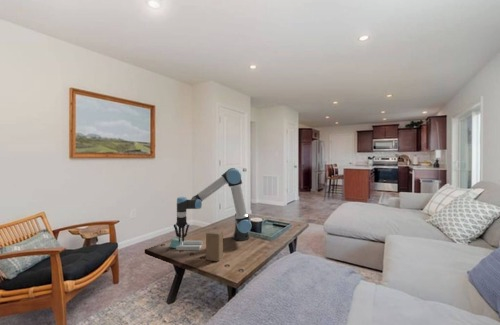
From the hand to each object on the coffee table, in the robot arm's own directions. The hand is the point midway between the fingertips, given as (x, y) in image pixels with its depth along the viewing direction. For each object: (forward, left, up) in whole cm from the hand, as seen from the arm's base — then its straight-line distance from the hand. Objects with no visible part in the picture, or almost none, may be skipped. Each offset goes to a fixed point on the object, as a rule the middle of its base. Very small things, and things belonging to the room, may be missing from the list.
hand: (181, 245), depth 185 cm
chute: (-7, 0, -2) cm, 7 cm away
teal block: (+5, 0, -1) cm, 5 cm away
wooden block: (-30, +18, -3) cm, 35 cm away
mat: (+6, 0, -2) cm, 7 cm away
